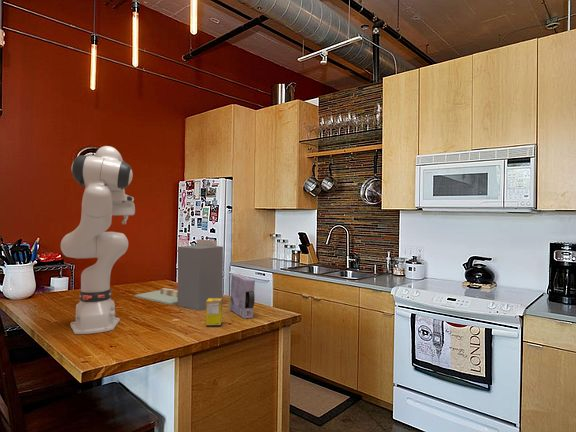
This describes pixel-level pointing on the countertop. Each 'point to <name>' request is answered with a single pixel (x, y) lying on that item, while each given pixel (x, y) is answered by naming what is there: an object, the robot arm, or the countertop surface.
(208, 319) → the supplement box
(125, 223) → the robot arm
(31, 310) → the countertop surface
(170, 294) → the long maple bar
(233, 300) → the cake pan box
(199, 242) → the pale wood bar
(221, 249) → the charcoal stand
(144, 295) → the sage mat
